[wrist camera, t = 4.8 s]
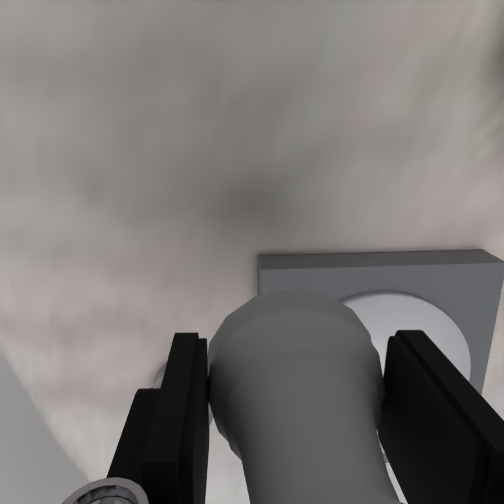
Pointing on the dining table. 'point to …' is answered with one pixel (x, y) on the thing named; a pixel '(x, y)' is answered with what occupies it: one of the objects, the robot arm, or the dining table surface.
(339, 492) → the rook chess piece
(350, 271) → the scale
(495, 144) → the dining table surface
